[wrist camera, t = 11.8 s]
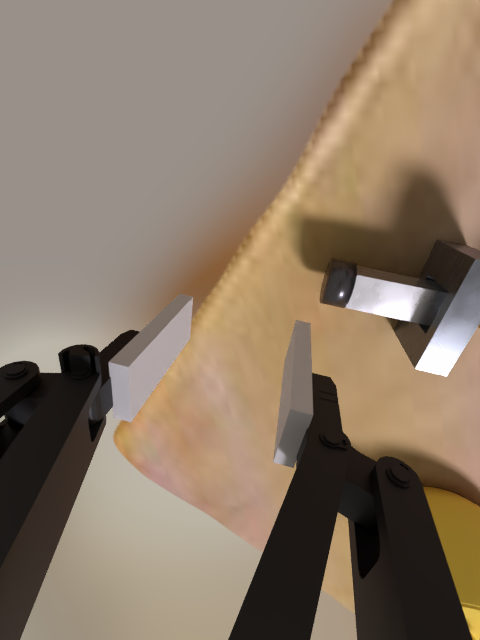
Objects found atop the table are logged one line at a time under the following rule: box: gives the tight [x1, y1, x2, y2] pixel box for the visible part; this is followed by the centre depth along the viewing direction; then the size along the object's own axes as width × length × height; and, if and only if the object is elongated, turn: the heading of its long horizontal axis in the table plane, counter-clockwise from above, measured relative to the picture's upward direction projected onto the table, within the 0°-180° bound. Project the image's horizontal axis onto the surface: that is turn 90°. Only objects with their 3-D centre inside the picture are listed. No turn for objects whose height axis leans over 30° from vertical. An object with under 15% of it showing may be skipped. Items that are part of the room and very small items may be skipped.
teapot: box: [423, 486, 480, 640], centre depth 35 cm, size 25×18×14 cm
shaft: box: [320, 259, 448, 326], centre depth 25 cm, size 12×4×4 cm, turn 81°
